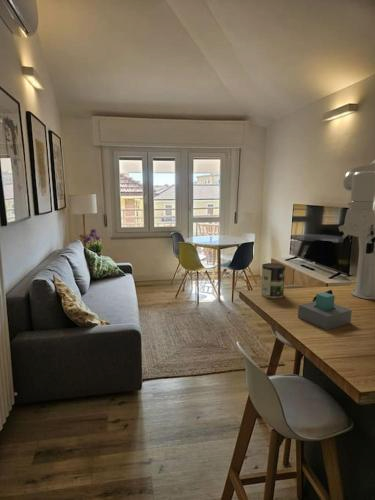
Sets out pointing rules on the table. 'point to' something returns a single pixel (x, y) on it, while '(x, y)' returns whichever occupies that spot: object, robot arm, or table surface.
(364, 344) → the table surface
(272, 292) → the coffee can
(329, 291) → the electric trimmer
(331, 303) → the peg
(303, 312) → the socket
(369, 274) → the robot arm
